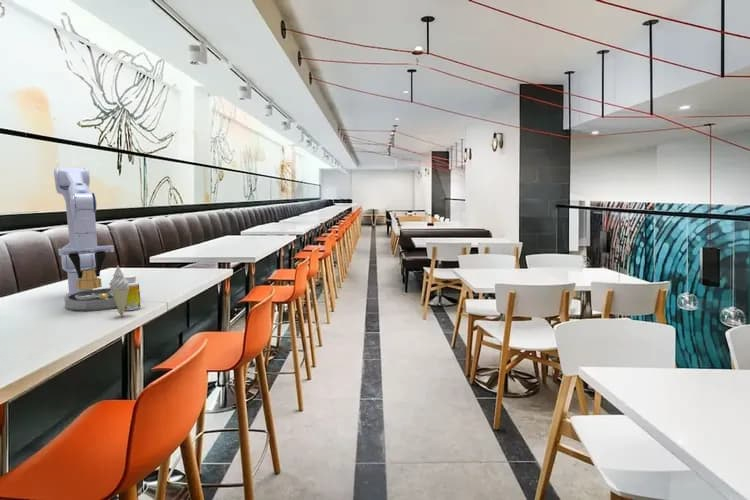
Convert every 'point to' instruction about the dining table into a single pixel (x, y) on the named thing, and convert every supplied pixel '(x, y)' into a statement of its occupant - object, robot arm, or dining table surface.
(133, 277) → the beer glass
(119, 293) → the ice cream cone
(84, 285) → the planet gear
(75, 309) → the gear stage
